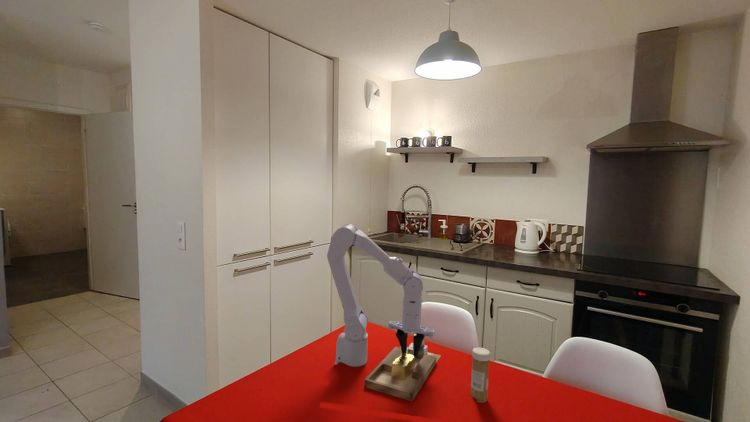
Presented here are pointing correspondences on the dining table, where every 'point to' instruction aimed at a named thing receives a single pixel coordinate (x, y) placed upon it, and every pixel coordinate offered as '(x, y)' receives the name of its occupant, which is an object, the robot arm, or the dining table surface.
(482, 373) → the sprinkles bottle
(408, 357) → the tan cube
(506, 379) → the dining table surface
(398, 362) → the golden brown cube
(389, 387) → the slot board
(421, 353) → the brushed metal block
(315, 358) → the dining table surface
